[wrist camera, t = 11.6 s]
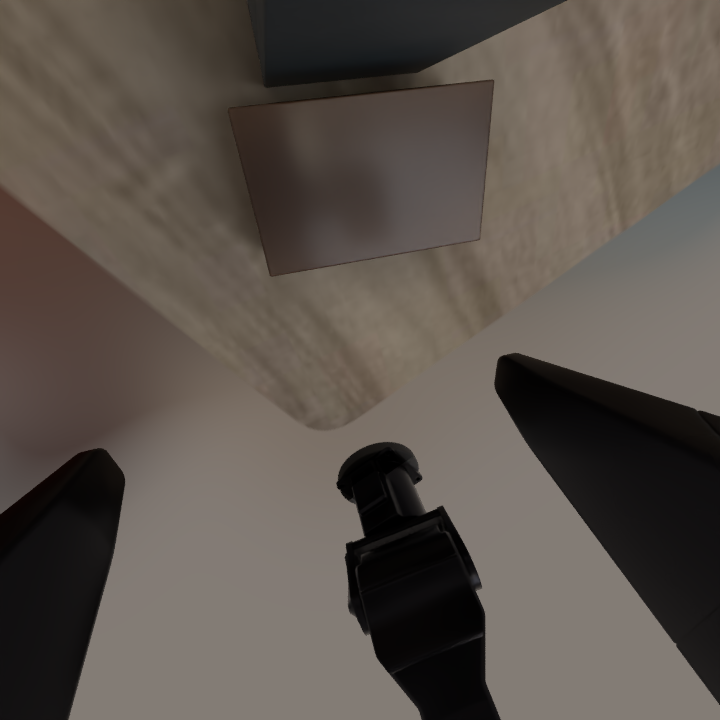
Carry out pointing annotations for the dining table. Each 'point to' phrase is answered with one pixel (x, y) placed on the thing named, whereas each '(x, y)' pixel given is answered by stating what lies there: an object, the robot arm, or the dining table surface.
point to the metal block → (365, 172)
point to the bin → (373, 34)
